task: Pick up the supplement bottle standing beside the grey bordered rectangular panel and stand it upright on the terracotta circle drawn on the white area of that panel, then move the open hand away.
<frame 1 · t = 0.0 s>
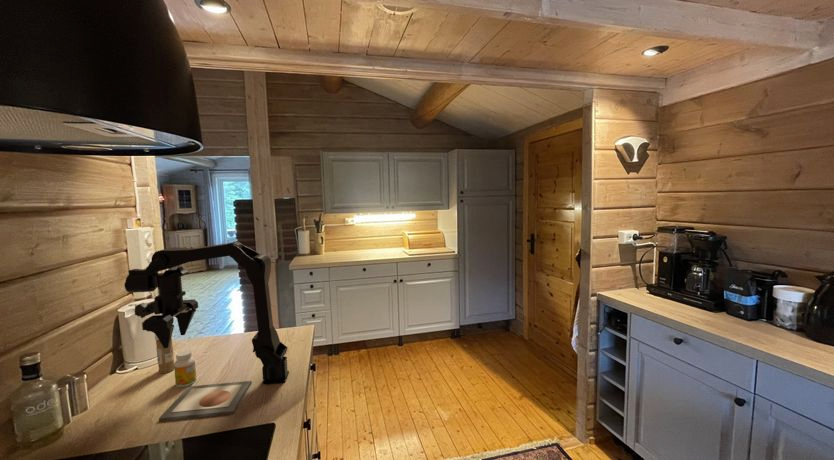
hand: (174, 341, 102), 15 cm above the countertop, tool pointing down, fingers open, 9 cm apart
supplement bottle: (186, 383, 106), on the countertop
grey bordered rectangular panel: (209, 400, 97), on the countertop
sprinkles bottle: (166, 370, 114), on the countertop
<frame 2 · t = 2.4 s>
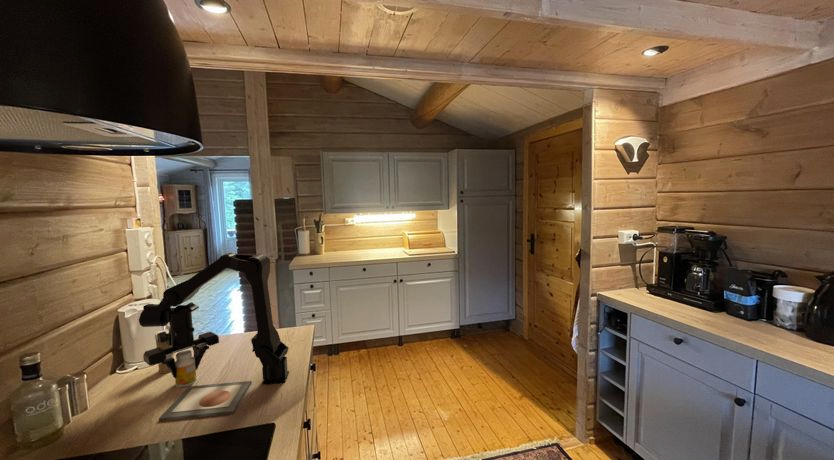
hand: (185, 373, 106), 3 cm above the countertop, tool pointing down, fingers closed on supplement bottle, 5 cm apart
supplement bottle: (186, 383, 106), on the countertop, touching gripper
everything else where it was.
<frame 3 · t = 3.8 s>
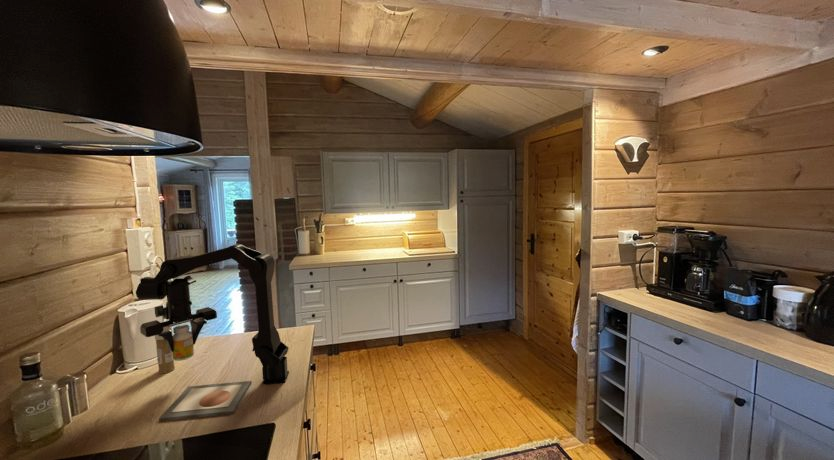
hand: (183, 347, 105), 11 cm above the countertop, tool pointing down, fingers closed on supplement bottle, 5 cm apart
supplement bottle: (183, 357, 106), point 8 cm above the countertop, touching gripper
everything else where it was.
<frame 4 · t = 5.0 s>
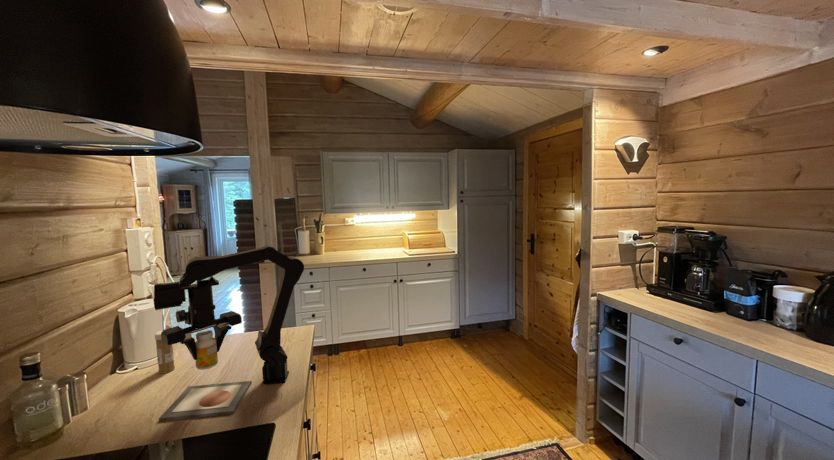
hand: (206, 355, 97), 13 cm above the countertop, tool pointing down, fingers closed on supplement bottle, 5 cm apart
supplement bottle: (207, 366, 97), point 10 cm above the countertop, touching gripper
everything else where it was.
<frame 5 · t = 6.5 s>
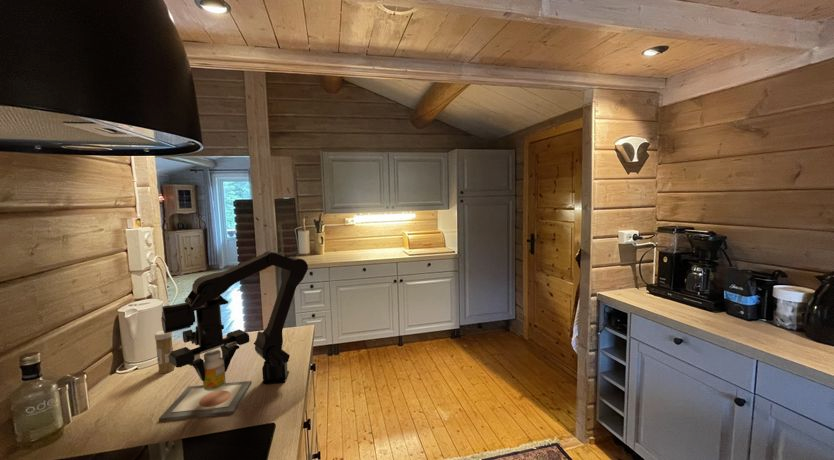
hand: (214, 375, 95), 8 cm above the countertop, tool pointing down, fingers closed on supplement bottle, 5 cm apart
supplement bottle: (214, 386, 96), point 4 cm above the countertop, touching gripper
everything else where it was.
when the fingers open (6 cm above the countertop, at t = 7.8 s): supplement bottle drops 1 cm, resting on grey bordered rectangular panel.
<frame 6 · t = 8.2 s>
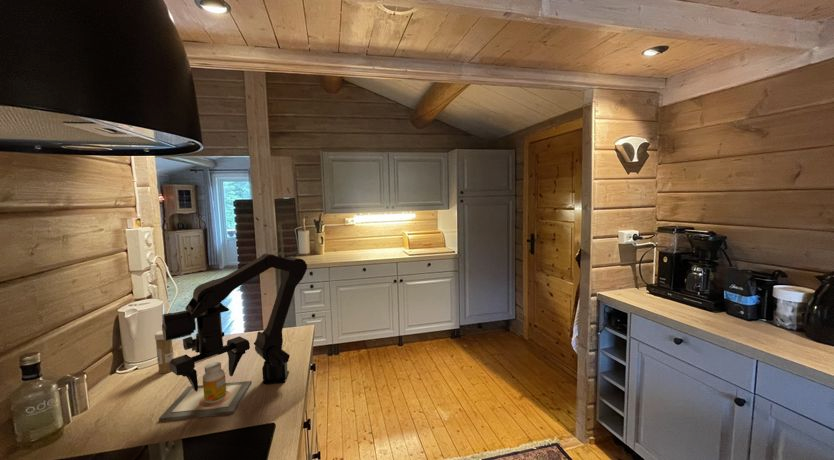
hand: (214, 383, 96), 6 cm above the countertop, tool pointing down, fingers open, 9 cm apart
supplement bottle: (215, 398, 96), point 1 cm above the countertop, touching grey bordered rectangular panel
everything else where it was.
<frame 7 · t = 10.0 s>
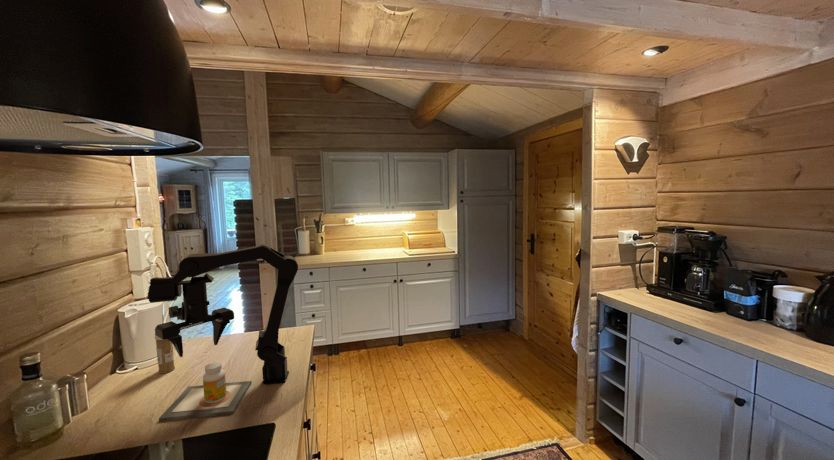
hand: (198, 350, 99), 13 cm above the countertop, tool pointing down, fingers open, 9 cm apart
nothing on the countertop moved.
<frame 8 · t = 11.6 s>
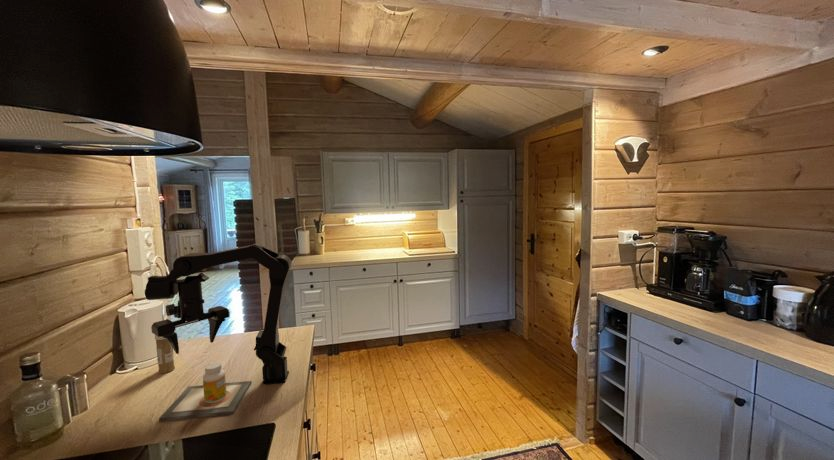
hand: (195, 347, 101), 13 cm above the countertop, tool pointing down, fingers open, 9 cm apart
nothing on the countertop moved.
at the end: supplement bottle 0.1 cm from the target spot, point 0.9 cm above the countertop; supplement bottle tilted 0°; the gripper is holding nothing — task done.
